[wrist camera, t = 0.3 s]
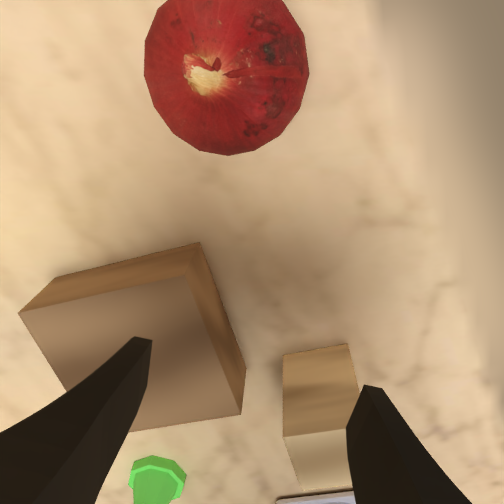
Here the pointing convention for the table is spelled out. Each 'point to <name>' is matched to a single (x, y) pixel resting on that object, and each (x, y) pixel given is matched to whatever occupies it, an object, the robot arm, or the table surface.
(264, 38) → the onion
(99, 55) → the table surface
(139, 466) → the game piece
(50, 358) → the walnut block
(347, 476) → the maple block
